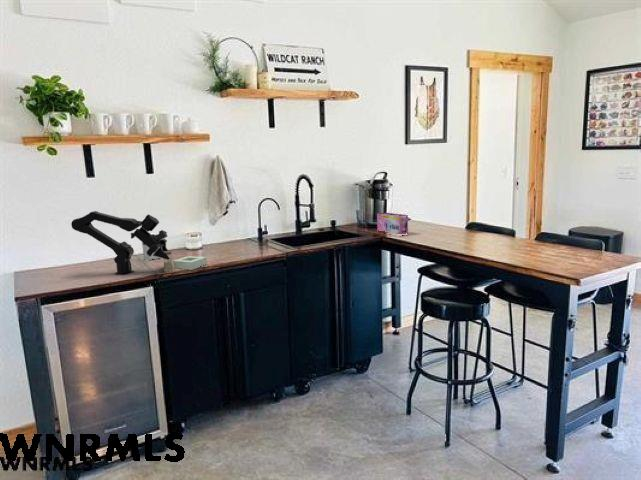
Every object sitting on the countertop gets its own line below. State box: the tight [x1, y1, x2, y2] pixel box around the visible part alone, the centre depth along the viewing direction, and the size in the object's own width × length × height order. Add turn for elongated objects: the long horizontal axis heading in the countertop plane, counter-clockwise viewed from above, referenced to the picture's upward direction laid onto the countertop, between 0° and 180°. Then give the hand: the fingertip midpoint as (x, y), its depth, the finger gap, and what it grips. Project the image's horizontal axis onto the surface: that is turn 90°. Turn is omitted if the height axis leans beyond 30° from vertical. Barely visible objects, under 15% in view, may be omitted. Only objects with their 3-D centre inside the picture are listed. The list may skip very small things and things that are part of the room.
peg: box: [162, 250, 174, 273], centre depth 249 cm, size 4×4×10 cm
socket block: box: [172, 255, 208, 271], centre depth 257 cm, size 12×12×4 cm
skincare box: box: [141, 232, 161, 261], centre depth 279 cm, size 8×6×15 cm
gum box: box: [376, 212, 409, 234], centre depth 329 cm, size 24×8×14 cm, turn 35°
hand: (170, 258), depth 249 cm, fingers closed on peg, 4 cm apart
